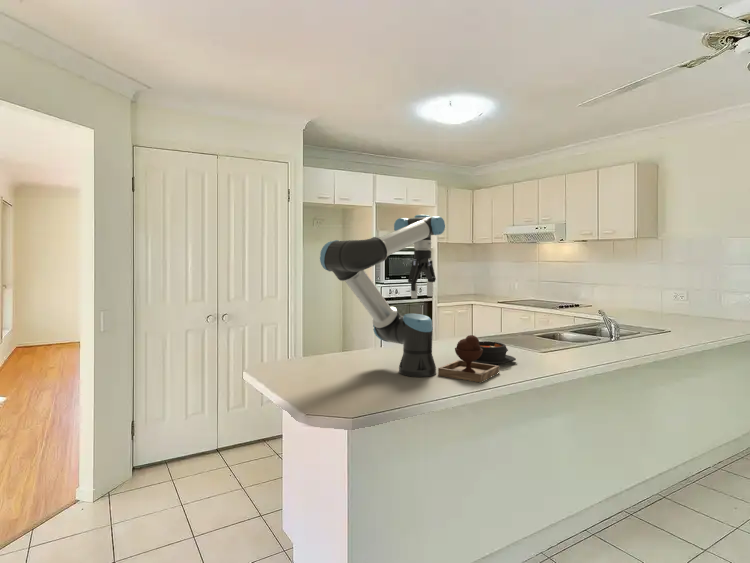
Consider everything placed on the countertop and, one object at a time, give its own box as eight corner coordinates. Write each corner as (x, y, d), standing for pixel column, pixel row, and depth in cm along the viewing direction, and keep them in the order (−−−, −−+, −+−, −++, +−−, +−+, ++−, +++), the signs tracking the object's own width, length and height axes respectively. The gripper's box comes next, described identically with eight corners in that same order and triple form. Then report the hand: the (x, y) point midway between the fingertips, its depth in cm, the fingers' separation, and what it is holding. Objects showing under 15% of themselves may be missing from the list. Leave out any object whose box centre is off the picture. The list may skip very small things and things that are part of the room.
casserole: (502, 356, 222) (502, 339, 222) (524, 366, 204) (524, 346, 204) (453, 359, 216) (453, 341, 216) (471, 369, 198) (471, 349, 198)
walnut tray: (480, 382, 177) (480, 374, 177) (438, 375, 187) (438, 368, 187) (499, 373, 191) (499, 365, 191) (458, 366, 202) (458, 359, 202)
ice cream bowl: (477, 368, 195) (478, 332, 194) (485, 375, 184) (486, 337, 183) (452, 368, 194) (452, 332, 193) (458, 375, 183) (458, 337, 182)
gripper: (415, 249, 199) (414, 299, 200) (443, 250, 219) (442, 295, 220) (400, 249, 203) (399, 298, 205) (429, 250, 223) (428, 294, 225)
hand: (422, 297), depth 212 cm, fingers open, 13 cm apart
